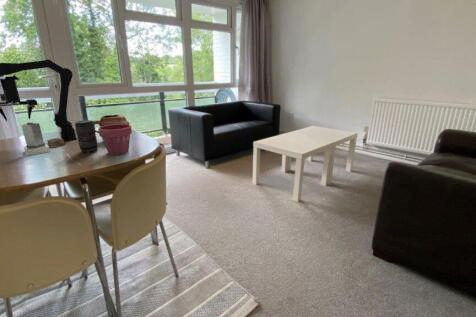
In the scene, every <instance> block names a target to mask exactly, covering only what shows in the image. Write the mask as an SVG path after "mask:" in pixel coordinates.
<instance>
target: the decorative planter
mask: <svg viewBox="0 0 476 317" xmlns="http://www.w3.org/2000/svg"><path fill="white" fill-rule="evenodd" d="M92 121H93V122H94V125H99V127H101V126H105V125H113V124H127V125H130V121H128V120H127V118H126V117H125V116H124V115H120V114H110V115H109V114H108V115H107V114H105V115H102V116H101V117H100V119H99V120H92ZM95 133H96V134H99V131H98V130H96V129H95Z"/></svg>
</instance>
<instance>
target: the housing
mask: <svg viewBox="0 0 476 317" xmlns="http://www.w3.org/2000/svg"><path fill="white" fill-rule="evenodd" d="M20 126H21V129H22V132H23V133H22V134H23V136H24V140H25V144H26V145H25V146H26V147H27V148H38V147H41V146H44V145H45V143H46V142H45V141H44V138H43V133H42V129H41V126H40V122H27V123H25V124H21V125H20Z"/></svg>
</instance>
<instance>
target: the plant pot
mask: <svg viewBox="0 0 476 317" xmlns="http://www.w3.org/2000/svg"><path fill="white" fill-rule="evenodd" d="M97 129H98V130H97V131H99V133H98V135H99V137H101V139H102V142H103V143H104V146H105V148H106V149H105V150H107V153H108V155H111V156H120V155H125V154H127V153H129V150H130V140H131V135H132V131H133V130H132V126H131V125H130V124H129V125H127V124H113V125H105V126H101V127H100V126H99V127H98V128H97Z"/></svg>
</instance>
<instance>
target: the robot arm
mask: <svg viewBox="0 0 476 317" xmlns="http://www.w3.org/2000/svg"><path fill="white" fill-rule="evenodd" d="M46 68H49V69H51V70H52V71H54V72H56V73H57V74H59V79H60V93H59V94H60V95H59V104H58V111H57V112H55V111H54V113H53V114H54V118H53V122H54V124H55V125H56V126H57V127H59V128H60V131H59V135H60V139H63V141H64V142H69V141H75V140H78V137H76V136H77V134H76V129H75V128H74V127H73V123H72V122H70V121H69V120H68V115H67V108H68V100H69V99H68V97H69V88H70V85H71V82H72V79H73V72H72V70H71V69H69V68H68V67H63V66H60V65H58V64H57V63H55V62H54V61H52V60H51V59H48V58H47V59H44V60H35V61H28V62H0V88H1V89H2V91H3V93H0V100H1V101H0V114H1V116H2V117H3V119H4V120H5V121H6V122H8V118H7V116H6V114H5V112H4V109H3V108H2V107H7V106H8V107H9V106H23V105H26V109H27V117H28V119H29V120H31V115H32V111H33V108H36V106H38V101H37V100H36V99H34V98H31V99H30V98H29V99H28V98H27V99H25V100H21V98H20V94H19V91H18V85H17V82H16V81H19V80H21V79H20V77H18V76H17V75H16V74H17V73H19V72H22V71H31V70H37V69H38V70H39V69H46ZM11 75H12V76H11ZM3 77H4V78H3Z"/></svg>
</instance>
